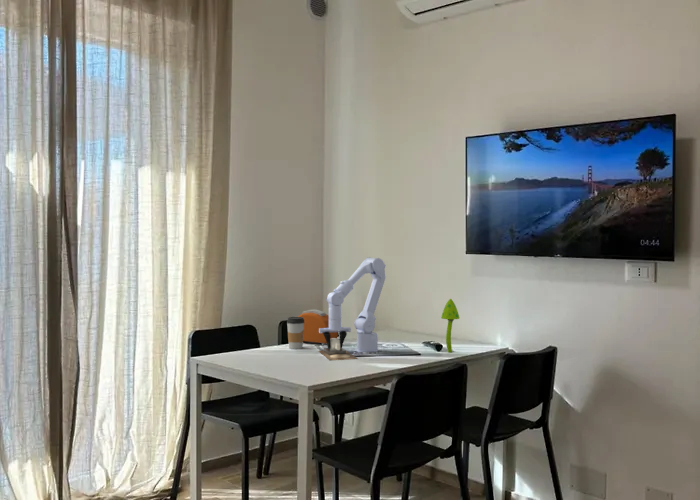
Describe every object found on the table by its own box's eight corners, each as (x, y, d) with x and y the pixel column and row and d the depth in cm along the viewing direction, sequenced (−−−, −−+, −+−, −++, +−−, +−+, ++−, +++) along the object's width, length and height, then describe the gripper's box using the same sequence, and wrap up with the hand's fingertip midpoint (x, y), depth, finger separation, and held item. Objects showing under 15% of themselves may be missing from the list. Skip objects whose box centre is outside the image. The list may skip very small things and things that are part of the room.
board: (344, 350, 328) (344, 349, 328) (358, 360, 305) (358, 359, 305) (317, 352, 324) (317, 350, 324) (329, 361, 301) (329, 360, 301)
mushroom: (462, 352, 325) (463, 298, 324) (452, 354, 319) (452, 300, 318) (447, 349, 330) (448, 297, 329) (437, 352, 324) (437, 298, 323)
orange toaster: (338, 343, 347) (338, 310, 347) (328, 346, 340) (328, 312, 339) (299, 339, 359) (299, 307, 359) (289, 342, 352) (289, 309, 351)
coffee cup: (301, 351, 327) (301, 319, 326) (284, 350, 329) (284, 318, 328) (306, 347, 335) (306, 316, 335) (289, 347, 337) (289, 316, 336)
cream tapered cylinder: (327, 351, 322) (327, 338, 322) (338, 351, 323) (338, 337, 323) (333, 355, 313) (333, 341, 313) (343, 354, 314) (343, 341, 314)
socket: (341, 350, 324) (341, 347, 324) (346, 353, 316) (346, 350, 316) (323, 351, 322) (323, 348, 322) (328, 354, 314) (328, 351, 314)
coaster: (347, 354, 315) (347, 353, 315) (352, 358, 307) (352, 357, 307) (328, 355, 313) (328, 354, 313) (332, 359, 304) (332, 358, 304)
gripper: (348, 316, 325) (347, 345, 325) (317, 317, 321) (317, 347, 321) (351, 318, 318) (351, 348, 318) (320, 320, 314) (320, 350, 314)
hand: (334, 348), depth 319 cm, fingers closed on cream tapered cylinder, 5 cm apart
